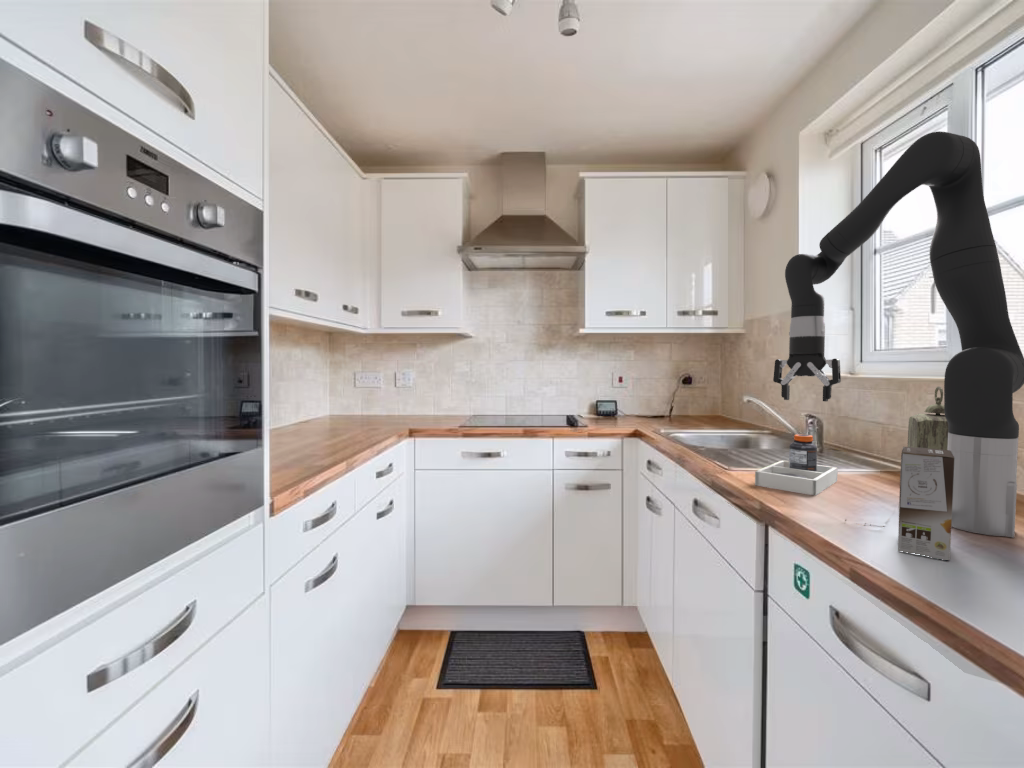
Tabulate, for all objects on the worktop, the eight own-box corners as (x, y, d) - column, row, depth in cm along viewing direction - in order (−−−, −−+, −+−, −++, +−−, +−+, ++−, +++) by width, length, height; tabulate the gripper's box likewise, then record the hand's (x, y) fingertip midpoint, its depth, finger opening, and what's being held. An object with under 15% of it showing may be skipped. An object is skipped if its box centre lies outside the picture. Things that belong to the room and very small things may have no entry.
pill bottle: (808, 477, 124) (809, 433, 123) (821, 482, 118) (822, 436, 117) (784, 476, 124) (785, 432, 124) (796, 482, 118) (797, 436, 118)
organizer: (837, 485, 120) (837, 467, 120) (815, 500, 106) (816, 480, 106) (781, 476, 129) (782, 460, 129) (754, 490, 115) (755, 471, 115)
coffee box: (951, 563, 72) (956, 457, 72) (897, 552, 76) (901, 452, 76) (947, 545, 80) (951, 449, 79) (897, 536, 84) (901, 445, 83)
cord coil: (808, 486, 114) (809, 475, 114) (801, 490, 110) (802, 479, 110) (781, 481, 118) (781, 471, 118) (773, 485, 114) (773, 475, 114)
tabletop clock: (964, 492, 115) (969, 388, 114) (915, 487, 119) (919, 386, 118) (949, 480, 127) (953, 386, 126) (905, 476, 132) (909, 385, 131)
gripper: (844, 335, 117) (842, 401, 118) (780, 337, 128) (778, 398, 128) (837, 333, 112) (835, 402, 113) (770, 336, 122) (769, 399, 123)
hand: (805, 400), depth 120 cm, fingers open, 8 cm apart
